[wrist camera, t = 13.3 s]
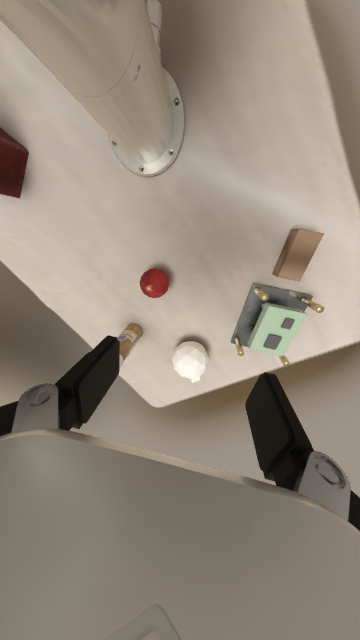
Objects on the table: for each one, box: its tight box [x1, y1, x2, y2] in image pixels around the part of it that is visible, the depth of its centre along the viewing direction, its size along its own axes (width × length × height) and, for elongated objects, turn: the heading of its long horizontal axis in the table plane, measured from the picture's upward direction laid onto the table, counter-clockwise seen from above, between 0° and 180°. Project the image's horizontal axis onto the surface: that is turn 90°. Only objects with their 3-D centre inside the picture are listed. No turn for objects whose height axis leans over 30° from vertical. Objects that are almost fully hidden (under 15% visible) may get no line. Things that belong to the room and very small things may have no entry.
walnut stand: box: [273, 229, 324, 281], centre depth 30 cm, size 8×4×3 cm, turn 170°
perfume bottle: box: [172, 341, 209, 383], centre depth 41 cm, size 9×9×12 cm
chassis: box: [231, 283, 324, 366], centre depth 35 cm, size 15×12×6 cm
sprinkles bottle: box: [117, 324, 142, 369], centre depth 38 cm, size 5×5×14 cm
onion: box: [140, 269, 169, 298], centre depth 34 cm, size 6×6×8 cm
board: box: [247, 303, 307, 356], centre depth 33 cm, size 10×7×3 cm
